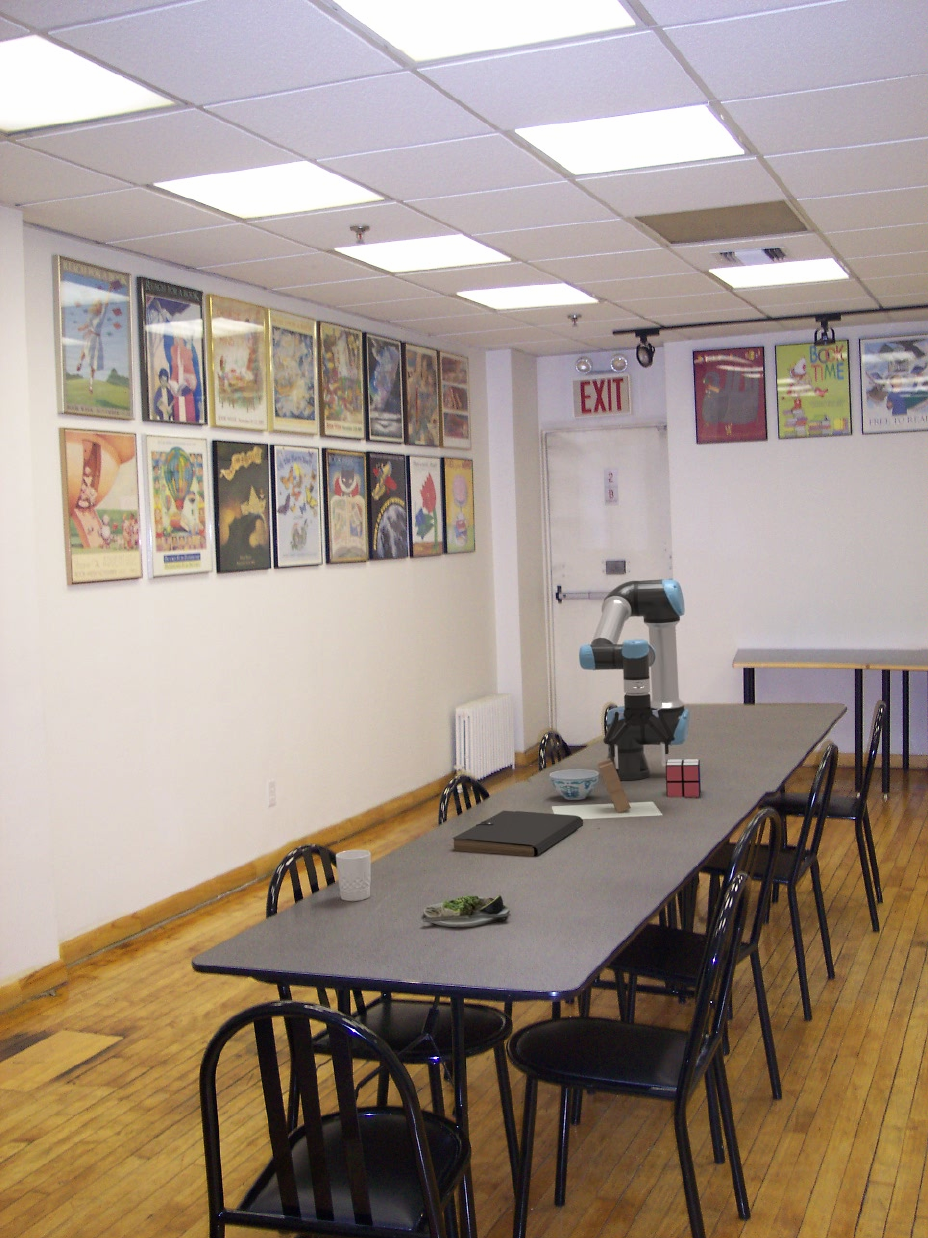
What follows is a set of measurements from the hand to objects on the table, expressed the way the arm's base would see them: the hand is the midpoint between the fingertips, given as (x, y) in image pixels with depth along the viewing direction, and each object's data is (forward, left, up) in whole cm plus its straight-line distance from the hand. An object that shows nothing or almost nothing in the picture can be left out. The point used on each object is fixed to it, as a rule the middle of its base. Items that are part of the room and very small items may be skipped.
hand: (639, 766), depth 353 cm
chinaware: (-20, -17, -13) cm, 29 cm away
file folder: (+26, -36, -14) cm, 47 cm away
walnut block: (0, -5, -12) cm, 13 cm away
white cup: (+74, -76, -13) cm, 107 cm away
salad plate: (+92, -50, -13) cm, 106 cm away
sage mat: (0, -10, -13) cm, 16 cm away
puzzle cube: (-19, +16, -13) cm, 28 cm away
